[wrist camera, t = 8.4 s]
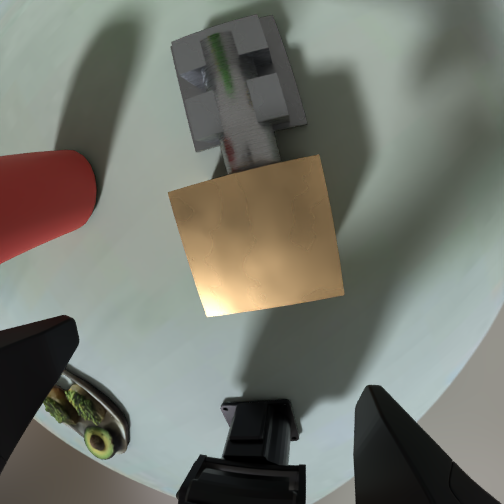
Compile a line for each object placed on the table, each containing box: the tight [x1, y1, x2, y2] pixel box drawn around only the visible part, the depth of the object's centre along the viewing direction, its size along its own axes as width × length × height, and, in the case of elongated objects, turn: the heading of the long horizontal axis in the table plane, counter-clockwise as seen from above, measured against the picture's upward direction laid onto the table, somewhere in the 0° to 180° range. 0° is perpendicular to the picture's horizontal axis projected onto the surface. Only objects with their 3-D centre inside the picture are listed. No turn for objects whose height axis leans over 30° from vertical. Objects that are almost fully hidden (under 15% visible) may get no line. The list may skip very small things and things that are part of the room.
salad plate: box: [43, 369, 129, 460], centre depth 28 cm, size 19×18×5 cm
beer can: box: [0, 150, 97, 264], centre depth 14 cm, size 7×7×12 cm
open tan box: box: [168, 155, 344, 317], centre depth 15 cm, size 6×6×6 cm
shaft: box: [171, 14, 307, 175], centre depth 14 cm, size 16×7×4 cm, turn 14°
